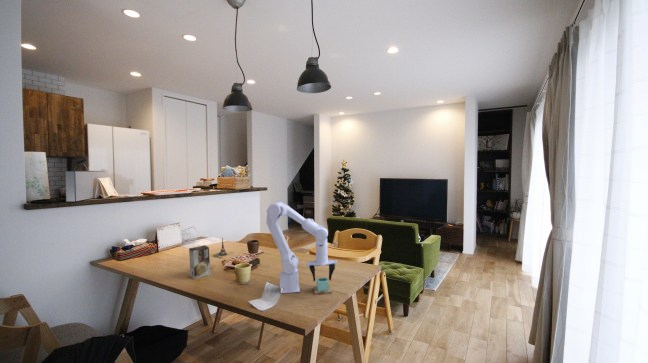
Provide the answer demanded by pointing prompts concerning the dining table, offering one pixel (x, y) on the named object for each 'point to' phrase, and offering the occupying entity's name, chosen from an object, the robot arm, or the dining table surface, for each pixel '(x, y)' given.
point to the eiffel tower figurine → (221, 251)
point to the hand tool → (254, 261)
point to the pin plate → (322, 291)
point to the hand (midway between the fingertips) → (322, 280)
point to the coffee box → (199, 261)
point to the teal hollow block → (322, 284)
